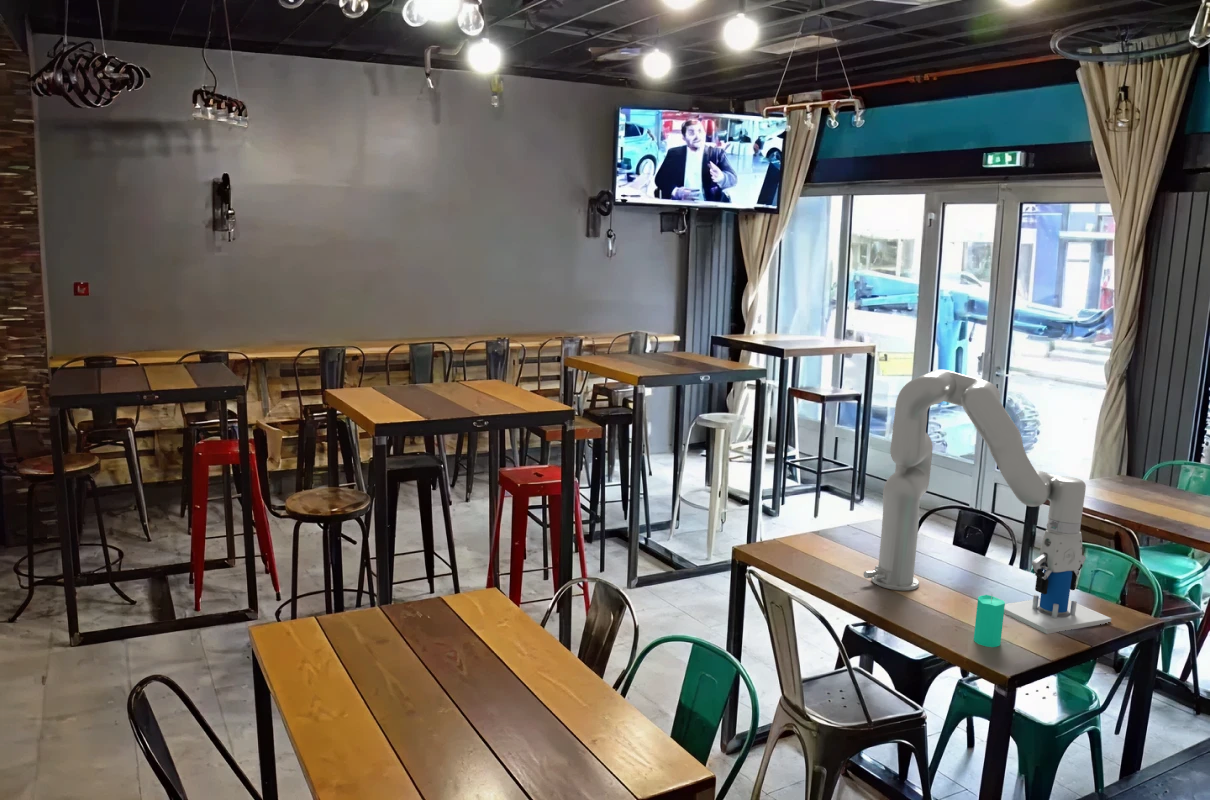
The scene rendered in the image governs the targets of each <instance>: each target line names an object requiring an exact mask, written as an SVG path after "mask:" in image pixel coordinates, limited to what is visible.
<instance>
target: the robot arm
mask: <svg viewBox="0 0 1210 800" xmlns="http://www.w3.org/2000/svg"><path fill="white" fill-rule="evenodd" d="M1000 393H1001V392H1000V391H999V389H998V387H997V386H996V385H995V384H994V383H992V382H990V381H988V380H984V379H980V378H976V377H972V376H971V375H970V376H969V375H965V374H961V373H960V372H959V373H958V372H955V371H952V370H948V369H934V370H932V371H930V372H927V373H924V374H922V375H920V376H918V377H916V378H914V379H912V380H910V381H908V382H907V383H906V384H905V385H904V386H902V387H901V389H900V391H899V393H898V395H897V398H896V403H895V409H894V419H893V423H892V424H893V425H892V432H891V435H892V436H891V442H890V447H889V448H890V450H889V453H890V457H891V459H892V461H893V463H895V469H894V470H895V471H894V473H892V474H891V475H890V476H889V477H888V479H886V481H885V483H884V486H883V490H882V491H883V492H882V520H881V521H882V522H881V533H880V543H879V545H880V546H879V555H878V556H879V557H878V565H877V564H876V565H875V567H874V569H872V570H865V571H864V572H863V577H864V578H865V579H871V582H873V584H874V585H876V584H877V585H876V586H878V587H882V588H884V589H888V590H892V591H894V590H895V591H903V592H904V591H905V592H906V591H913V590H915V589H917V588H919V586H920V581H919V580H918V579H917V577H914V575H915V565H916V556H917V544H918V537H919V536H918V533H919V522H920V501H921V498H922V497H923V496H924V495H925V494H926V492H927V491H928V488H929V486H930V485H929V484H930V479H931V470H932V467H931V466H932V461H933V460H932V457H933V441H932V439H931V437H930V435H929V434H928V432H927V424H928V412H929V408H930V407H931V406H934V405H938V404H940V403H943V402H945V403H949V404H953V405H956V406H960V407H962V408H963V410H964V411H965V413H966V415H967V416H968V418H969V420H970V421H971V422H972V424H973V425H974V427H975V429H976V431H977V432H978V433H979V435H980V437H981V438H982V439H983V440H984V442H985V444H986V445H987V447H988V449H989V452H990V453H991V456H992V457H993V460H994V462H995V463H996V466H997V468H998V471H999V472H1000V474H1001V475H1002V477H1003V479H1004V481H1005V482H1006V484H1007V485H1008V487H1009V488H1010V489H1011V491H1012V493H1013V494H1014V496H1015V497H1016V499H1017V500H1018V501H1019V502H1020V503H1022V504H1023V505H1024V506H1027V507H1032V508H1033V507H1039V506H1042V505H1043V504H1045V503H1046V502H1047V501H1049V510H1048V517H1047V522H1046V523H1047V524H1046V529H1045V531H1044V534H1043V538H1042V541H1041V545H1040V546H1041V547H1040V550H1039V556H1037V557H1036V558H1035V559H1034V560H1032V561H1031V566H1032V571H1033V573H1034V576H1036V581H1035V588H1034V590H1035V591H1036V592H1038V593H1040V594H1041V593H1042V594H1047V589H1048V581H1049V580H1048V579H1047V577H1048V576H1049V575H1050V573H1051V572H1054V573H1060V572H1065V571H1066V570H1067V571H1072V579H1071V586H1070V591H1075V590H1076V586H1077V585H1076V584H1077V578H1078V576H1079V575H1080V571H1081V569H1082V568H1083V567H1084V566H1083V564H1084V563H1085V560H1086V556H1084V555H1083V536H1082V532H1081V525H1082V519H1083V511H1084V510H1083V509H1084V502H1085V497H1086V483H1085V482H1084V481H1083V480H1082V479H1080V478H1077V477H1071V476H1060V475H1055V474H1053V473H1048V472H1045V471H1043V470H1042V471H1041V470H1036V469H1035V468H1034V466H1033V464H1032V463H1031V461H1030V458H1029V457H1028V455H1027V453H1026V450H1025V448H1024V442H1023V438H1022V434H1021V431H1020V430H1019V428H1018V427H1017V425H1016V423H1015V422H1014V421H1013V419H1012V417H1011V416H1010V415H1009V413H1008V412H1007V410H1006V409H1005V407H1004V405H1003V404H1002V402H1001V400H1000V399H1001V394H1000ZM1047 566H1048V567H1047ZM1044 569H1045V570H1046V571H1045V573H1044ZM1068 569H1069V570H1068Z"/></svg>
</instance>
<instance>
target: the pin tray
mask: <svg viewBox="0 0 1210 800" xmlns="http://www.w3.org/2000/svg"><path fill="white" fill-rule="evenodd" d="M1039 597H1040V596H1039V595H1038V594H1034V595H1033V597H1032V598H1033V599H1030V600H1029V599H1028V600H1023V601H1015V602H1009V603H1005V608H1004V615H1007V616H1009V617H1011V618H1013V619H1014V620H1017V621H1019V622H1022V623H1024V624H1025V625H1027V626H1030V627H1032V628H1034V629H1035V630H1038V631H1040V632H1042V633H1044V634H1047V635H1048V634H1053V633H1059V631H1060V632H1064V631H1065V630H1066V631H1070V630H1071V629H1072V630H1077V629H1083V628H1087V627H1094V626H1100V624H1101V625H1105V623H1107V624H1109V623H1108V622H1111V623H1112V617H1109V616H1107V615H1105V614H1102V613H1100V612H1098V611H1096V610H1093V609H1091V608H1089V607H1086V606H1084V605H1082V604H1079V603H1078V602H1077V601H1076V600H1070V599H1069V601H1068V609H1067V612H1065V613H1063V614H1058V607H1059V605H1058V604H1053V612H1052V614H1051V613H1048V612H1045V611H1044V610H1043V609H1042V608H1041V607H1040V598H1039ZM1072 630H1071V631H1072ZM1066 631H1065V632H1066Z"/></svg>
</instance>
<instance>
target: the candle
mask: <svg viewBox="0 0 1210 800" xmlns="http://www.w3.org/2000/svg"><path fill="white" fill-rule="evenodd" d="M1005 604H1006V602H1005V600H1003V599H1000V598H998V597H997V596H993V595H989V594H983V595H982V594H981V595H979V596H977V603H976V614H975V622H974V623H975V625H974V633H973V641H974V642H975V644H976V645H979V646H980V645H981V646H983V647H988V648H998V647H999V646H1001V643H1002V635H1003V634H1002V633H1003V626H1004V625H1003V623H1004V617H1005V616H1004V615H1005V613H1004V608H1005Z"/></svg>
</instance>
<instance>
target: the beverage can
mask: <svg viewBox="0 0 1210 800" xmlns="http://www.w3.org/2000/svg"><path fill="white" fill-rule="evenodd" d="M1047 567H1048V566H1047ZM1068 570H1069V569H1068ZM1045 571H1046V570H1045V569H1044V570H1043V573H1045ZM1047 579H1048V580H1049V581H1048V589H1047V594H1042V593H1040V598H1039V599H1040V607H1041V608H1042V609H1043V610H1044V611H1045V612H1048V613H1051V614H1052V612H1053V604H1058V605H1059V607H1058V614H1063V613H1065V612H1067V609H1068V601H1069V600H1070V592H1071V590H1070V586H1071V579H1072V571H1067V570H1066V571H1065V572H1060V573H1054V572H1051V573H1050V575H1049V576H1048V577H1047Z"/></svg>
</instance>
